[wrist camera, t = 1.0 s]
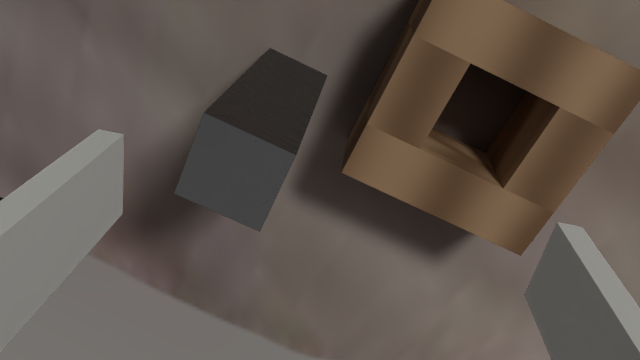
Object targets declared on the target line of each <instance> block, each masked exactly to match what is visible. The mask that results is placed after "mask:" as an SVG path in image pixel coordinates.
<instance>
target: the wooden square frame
mask: <svg viewBox="0 0 640 360" xmlns="http://www.w3.org/2000/svg"><path fill="white" fill-rule="evenodd" d="M470 64H473V65H475V66H477V67H479V68H481V69H483V70H485V71H488V72H490V73H492V74H494V75H496V76H498V77H500V78H502V79H504V80H506V81H508V82H510V83H512V84H514V85H516V86H518V87H520V88H522V89H524V90H526V92H525V94H524V95H523V97H522V98H521V100H520V101H519V103H518V104H517V106H516V108H515V109H514V111H513V112H512V114H511V115H510V117H509V118H508V120H507V121H506V123H505V124H504V126H503V127H502V129H501V130H500V132H499V133H498V135H497V137H496V138H495V140H494V141H493V143H492V144H491V146H490V147H489V149H488V150H487V152H486V153H485V152H483V151H481V150H478V149H476V148H474V147H472V146H470V145H468V144H466V143H464V142H462V141H460V140H458V139H455V138H453V137H451V136H449V135H447V134H445V133H443V132H441V131H439V130H437V129H435V128H433V126H434V125H435V123H436V121H437V120H438V118H439V116H440V114H441V113H442V111H443V109H444V108H445V106H446V104H447V103H448V101H449V99H450V98H451V96H452V94H453V92H454V91H455V89H456V87H457V86H458V84H459V82H460V81H461V79H462V77H463V75H464V74H465V72H466V70H467V69H468V67H469V65H470ZM639 101H640V70H639V69H637V68H635V67H633V66H631V65H629V64H627V63H625V62H623V61H621V60H619V59H617V58H615V57H613V56H611V55H609V54H607V53H605V52H603V51H602V50H600V49H598V48H596V47H594V46H592V45H590V44H588V43H586V42H584V41H582V40H580V39H578V38H576V37H574V36H572V35H570V34H568V33H566V32H564V31H562V30H560V29H558V28H556V27H554V26H552V25H550V24H548V23H546V22H545V21H543V20H541V19H539V18H537V17H535V16H533V15H531V14H529V13H527V12H525V11H523V10H521V9H519V8H517V7H515V6H513V5H511V4H509V3H507V2H505V1H503V0H419V1H418V3H417V5H416V7H415V9H414V11H413V13H412V15H411V16H410V18H409V20H408V22H407V24H406V26H405V28H404V30H403V32H402V34H401V36H400V38H399V40H398V42H397V44H396V46H395V48H394V49H393V51H392V53H391V55H390V57H389V59H388V61H387V63H386V65H385V67H384V69H383V71H382V73H381V75H380V77H379V79H378V81H377V83H376V84H375V86H374V88H373V90H372V92H371V94H370V96H369V98H368V100H367V102H366V104H365V106H364V108H363V110H362V112H361V114H360V116H359V117H358V119H357V121H356V123H355V125H354V127H353V129H352V131H351V133H350V135H349V137H348V139H347V143H346V148H345V154H344V160H343V166H342V172H341V173H343V174H345V175H347V176H350V177H352V178H354V179H356V180H358V181H360V182H362V183H365V184H367V185H369V186H371V187H373V188H375V189H378V190H380V191H382V192H384V193H386V194H388V195H391V196H393V197H395V198H397V199H399V200H401V201H404V202H406V203H408V204H410V205H412V206H414V207H417V208H419V209H421V210H423V211H425V212H427V213H430V214H432V215H434V216H436V217H438V218H440V219H442V220H445V221H447V222H449V223H451V224H453V225H455V226H458V227H460V228H462V229H464V230H466V231H468V232H471V233H473V234H475V235H477V236H479V237H481V238H484V239H486V240H488V241H490V242H492V243H494V244H497V245H499V246H501V247H503V248H505V249H507V250H509V251H512V252H514V253H516V254H518V255H520V256H521V255H522V253H523V252H524V251H525V250H526V248H527V247H528V246H529V244H530V243H531V242H532V240H533V239H534V238H535V236H536V235H537V234H538V233H539V231H540V230H541V229H542V227H543V226H544V225H545V223H546V222H547V221H548V220H549V218H550V217H551V216H552V214H553V213H554V212H555V210H556V209H557V208H558V206H559V205H560V204H561V203H562V201H563V200H564V199H565V197H566V196H567V195H568V193H569V192H570V191H571V189H572V188H573V187H574V186H575V184H576V183H577V182H578V180H579V179H580V178H581V176H582V175H583V174H584V173H585V171H586V170H587V169H588V167H589V166H590V165H591V163H592V162H593V161H594V159H595V158H596V157H597V156H598V154H599V153H600V152H601V150H602V149H603V148H604V146H605V145H606V144H607V143H608V141H609V140H610V139H611V137H612V136H613V135H614V133H615V132H616V131H617V129H618V128H619V127H620V126H621V124H622V123H623V122H624V120H625V119H626V118H627V116H628V115H629V114H630V112H631V111H632V110H633V109H634V107H635V106H636V105H637V103H638V102H639Z"/></svg>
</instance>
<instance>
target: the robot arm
mask: <svg viewBox="0 0 640 360" xmlns="http://www.w3.org/2000/svg"><path fill="white" fill-rule="evenodd" d="M123 152H124V134H119V133H114V132H109V131H104V130H100V129H98V130H97V131H95V132H94V133H93V134H91V135H90V136H89V137H87V138H86V139H85V140H83V141H82V142H80V143H79V144H78V145H76V146H75V147H74V148H72V149H71V150H69V151H68V152H67V153H65V154H64V155H63V156H61V157H60V158H58V159H57V160H56V161H54V162H53V163H52V164H50V165H49V166H48V167H46V168H45V169H43V170H42V171H41V172H39V173H38V174H37V175H35V176H34V177H32V178H31V179H30V180H28V181H27V182H26V183H24V184H23V185H22V186H20V187H19V188H17V189H16V190H15V191H13V192H12V193H11V194H9V195H8V196H6V197H5V198H1V197H0V353H1V352H2V350H3V349H4V348H5V347H6V346H7V345H8V343H10V341H11V340H12V339H13V338H14V337H15V336H16V334H17V333H18V332H19V331H20V330H21V329H22V328H23V327H24V325H25V324H26V323H27V322H28V321H29V320H30V318H31V317H32V316H33V315H34V314H35V313H36V312H37V311H38V309H39V308H40V307H41V306H42V305H43V304H44V303H45V301H46V300H47V299H48V298H49V297H50V296H51V295H52V293H53V292H54V291H55V290H56V289H57V288H58V286H59V285H60V284H61V283H62V282H63V281H64V280H65V279H66V278H67V276H68V275H69V274H70V273H71V272H72V271H73V269H74V268H75V267H76V266H77V265H78V264H79V263H80V262H81V260H82V259H83V258H84V257H85V256H86V255H87V254H88V252H89V251H90V250H91V249H92V248H93V247H94V246H95V244H96V243H97V242H98V241H99V240H100V239H101V238H102V236H103V235H104V234H105V233H106V232H107V231H108V230H109V229H110V227H111V226H112V225H113V224H114V223H115V222H116V221H117V219H118V218H119V217H120V216H121V215H122V214H123ZM525 297H526V300H527V302H528V305H529V307H530V309H531V312H532V314H533V317H534V319H535V321H536V324H537V326H538V328H539V331H540V333H541V336H542V338H543V340H544V343H545V345H546V348H547V350H548V352H549V355H550V357H551V360H640V308H639V307H638V305H637V304H636V302H635V301H634V300H633V298H632V297H631V295H630V294H629V292H628V291H627V290H626V288H625V287H624V285H623V284H622V283H621V281H620V280H619V278H618V277H617V276H616V274H615V273H614V271H613V270H612V268H611V267H610V266H609V264H608V263H607V261H606V260H605V259H604V257H603V256H602V254H601V253H600V252H599V250H598V249H597V247H596V246H595V244H594V243H593V242H592V240H591V239H590V237H589V236H588V235H587V233H586V232H585V230H584V229H583V228H582V227H579V226H574V225H569V224H564V223H559V222H557V223H556V225H555V228H554V230H553V232H552V234H551V237H550V239H549V241H548V243H547V246H546V248H545V250H544V252H543V254H542V257H541V259H540V261H539V263H538V266H537V268H536V270H535V272H534V275H533V277H532V279H531V281H530V284H529V286H528V288H527V290H526V293H525Z"/></svg>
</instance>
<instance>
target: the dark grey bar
mask: <svg viewBox="0 0 640 360" xmlns="http://www.w3.org/2000/svg"><path fill="white" fill-rule="evenodd" d="M326 78H327V75H325V74H323V73H321V72H319V71H317V70H315V69H313V68H311V67H309V66H306V65H304V64H302V63H300V62H298V61H296V60H294V59H292V58H290V57H288V56H286V55H283V54H281V53H279V52H277V51H275V50H273V49H271V48H270V49H269V50H268V51H267V52H266V53H265V54H264V55H263V56H261V57H260V58H259V59H258V60H257V61H256V62H255V63H254V64H253V65H252V66H251V67H250V68H249V69H248V70H247V71H246V72H245V73H244V74H243V75H242V76H241V77H240V78H239V79H238V80H237V81H236V82H235V83H234V84H233V85H232V86H231V87H230V88H229V89H228V90H227V91H226V92H225V93H224V94H223V95H222V96H220V97H219V98H218V99H217V100H216V101H215V102H214V103H213V104H212V105H211V106H210V107H209V108H208V109H207V110H206V111H205V112H204V114H203V116H202V119H201V122H200V125H199V127H198V130H197V133H196V135H195V138H194V141H193V144H192V146H191V149H190V152H189V154H188V157H187V160H186V163H185V165H184V168H183V171H182V173H181V176H180V179H179V182H178V184H177V187H176V190H175V192H174V194H176V195H178V196H181V197H183V198H185V199H187V200H190V201H192V202H194V203H196V204H199V205H201V206H203V207H205V208H208V209H210V210H212V211H214V212H217V213H219V214H221V215H223V216H226V217H228V218H230V219H232V220H235V221H237V222H239V223H241V224H244V225H246V226H248V227H250V228H253V229H255V230H257V231H259V232H260V230H261V228H262V226H263V224H264V222H265V220H266V218H267V216H268V214H269V211H270V209H271V207H272V205H273V203H274V201H275V199H276V197H277V194H278V192H279V190H280V188H281V186H282V184H283V182H284V180H285V178H286V175H287V173H288V171H289V169H290V167H291V165H292V163H293V161H294V159H295V156H296V154H297V152H298V149H299V146H300V144H301V141H302V139H303V136H304V134H305V131H306V129H307V126H308V124H309V121H310V119H311V116H312V113H313V111H314V108H315V106H316V103H317V101H318V98H319V96H320V93H321V91H322V88H323V86H324V83H325V80H326Z"/></svg>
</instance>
